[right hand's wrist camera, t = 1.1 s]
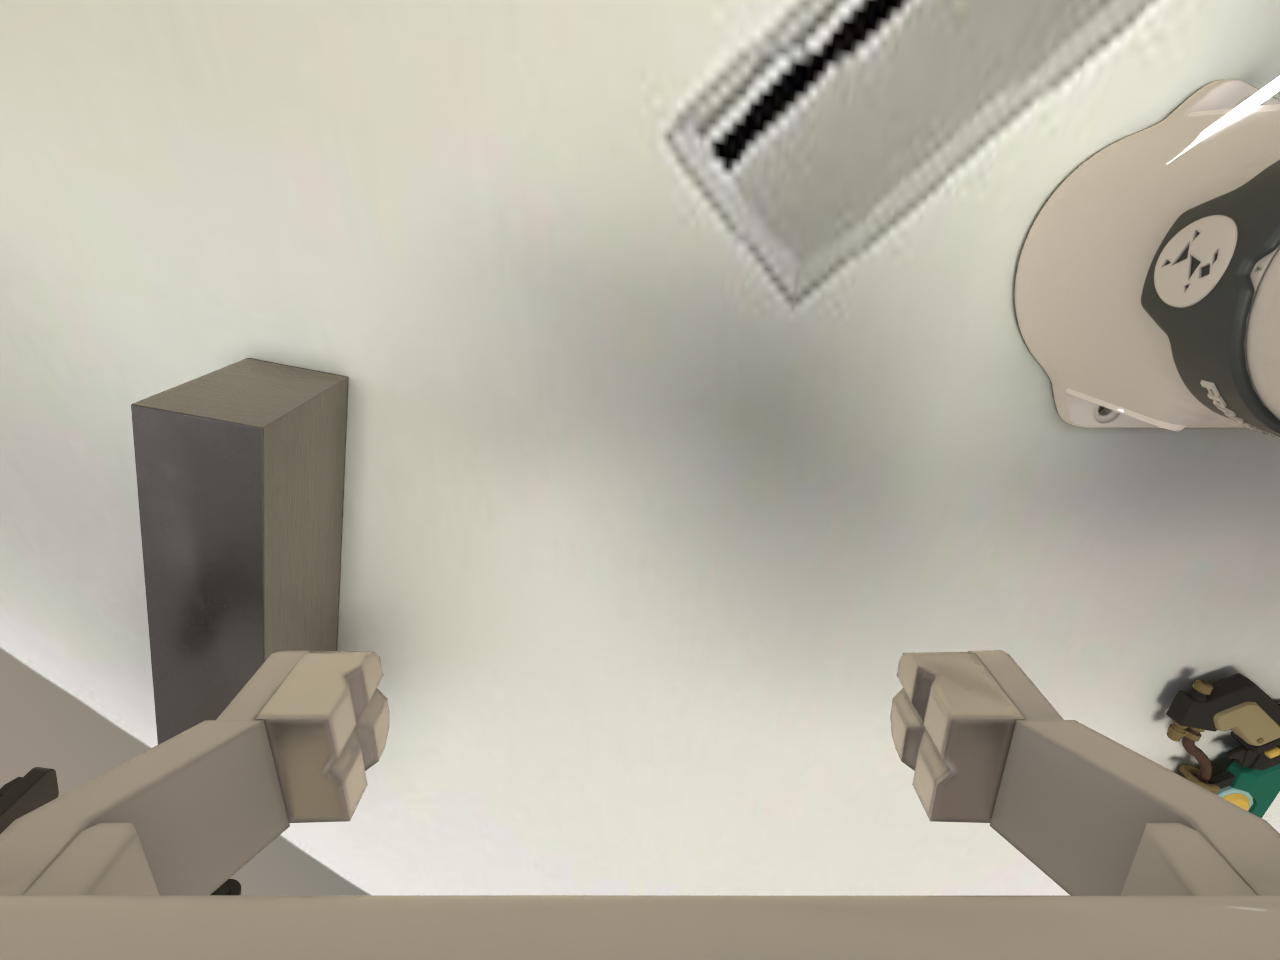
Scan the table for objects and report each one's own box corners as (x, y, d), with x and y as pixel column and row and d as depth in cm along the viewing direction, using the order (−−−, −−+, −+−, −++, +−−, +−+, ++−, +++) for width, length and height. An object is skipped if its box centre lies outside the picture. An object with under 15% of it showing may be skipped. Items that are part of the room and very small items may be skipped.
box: (247, 357, 41) (130, 404, 31) (348, 376, 41) (263, 428, 32) (251, 653, 48) (158, 762, 39) (336, 667, 49) (264, 777, 39)
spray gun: (1197, 639, 49) (1332, 715, 52) (1047, 803, 53) (1181, 864, 57) (1251, 675, 45) (1393, 755, 48) (1084, 849, 49) (1225, 911, 53)
